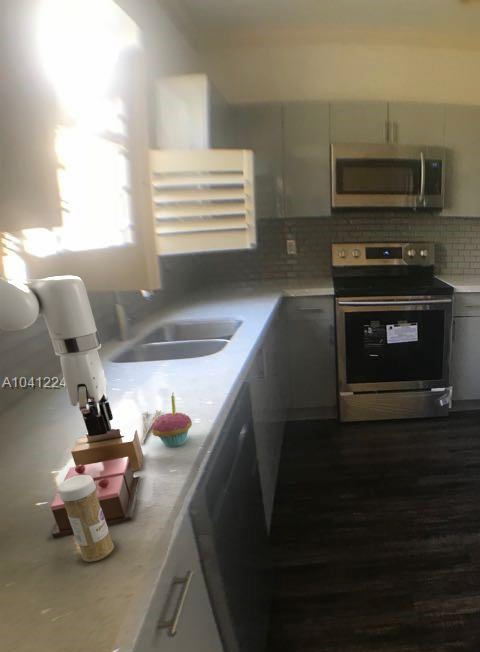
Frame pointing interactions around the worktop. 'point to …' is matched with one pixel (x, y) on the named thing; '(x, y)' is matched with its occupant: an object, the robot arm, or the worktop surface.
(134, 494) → the pink double-door cabinet
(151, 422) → the tweezers
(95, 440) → the knife
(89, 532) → the sprinkles bottle
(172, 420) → the cupcake
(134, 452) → the knife block
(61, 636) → the worktop surface
